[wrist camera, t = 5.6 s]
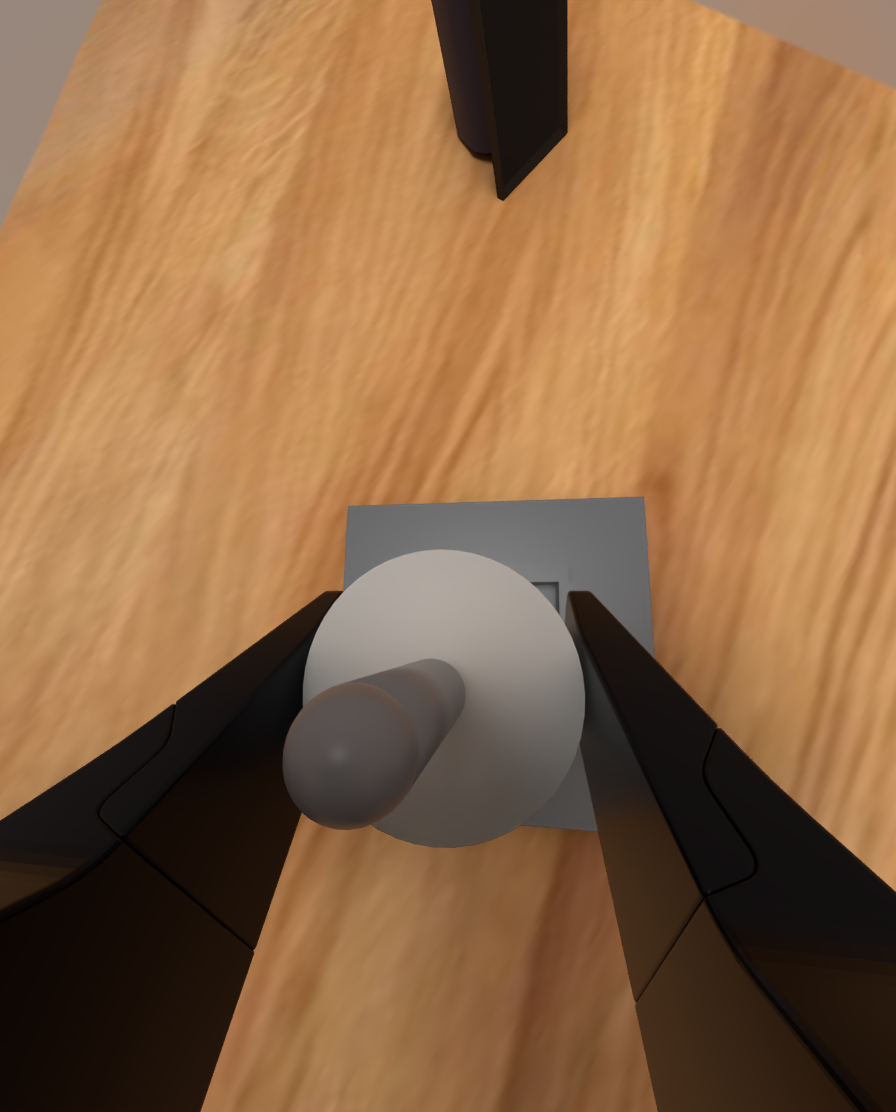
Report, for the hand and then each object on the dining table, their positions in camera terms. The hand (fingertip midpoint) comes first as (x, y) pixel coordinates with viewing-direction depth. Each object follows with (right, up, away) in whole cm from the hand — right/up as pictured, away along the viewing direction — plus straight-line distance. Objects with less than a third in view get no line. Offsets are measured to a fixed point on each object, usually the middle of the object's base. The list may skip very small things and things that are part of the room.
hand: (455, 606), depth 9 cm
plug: (+1, -2, +6) cm, 6 cm away
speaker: (+3, +25, +16) cm, 30 cm away
